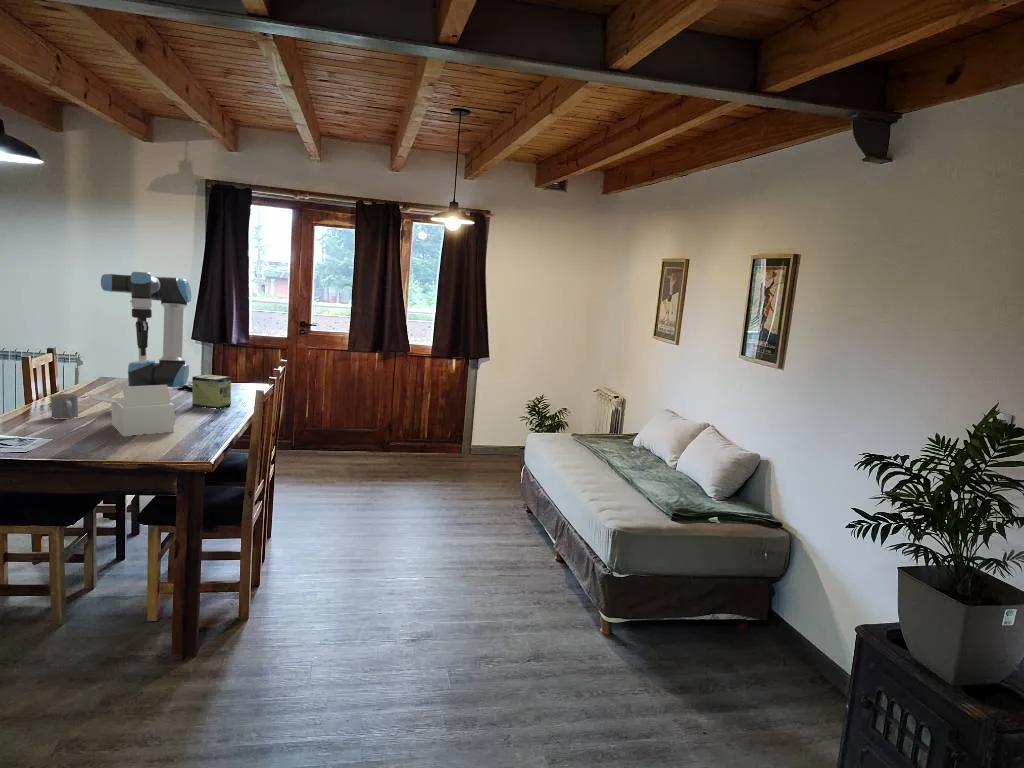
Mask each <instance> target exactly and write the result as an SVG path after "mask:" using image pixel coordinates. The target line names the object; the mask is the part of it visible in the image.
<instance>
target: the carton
mask: <svg viewBox="0 0 1024 768" xmlns="http://www.w3.org/2000/svg"><path fill="white" fill-rule="evenodd" d="M112 398H113V399H114V400H115V401H117V402H118V403H111V426H112V425H113V426H114V427H115V428H116V429H117V430H118V431H119V432H120V433H121V434H122V435H123V436H124V437H132V435H136V436H144V435H143V434H147V435H156V434H155V433H159V434H165V433H164V432H170V433H174V432H175V423H176V419H175V417H176V416H175V411H176V409H175V404H174V403H173V402H171V403H162V404H145V405H129V406H126V405H125V400H124V397H112ZM113 426H112V427H113ZM114 427H113V428H114ZM115 428H114V429H115ZM116 429H115V430H116ZM117 430H116V431H117ZM118 431H117V432H118ZM119 432H118V433H119ZM120 433H119V434H120ZM121 434H120V435H121ZM122 435H121V436H122ZM123 436H122V437H123Z"/></svg>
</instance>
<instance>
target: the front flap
mask: <svg viewBox="0 0 1024 768" xmlns="http://www.w3.org/2000/svg"><path fill="white" fill-rule="evenodd" d="M121 388H122V393H123V394H122V395H123V398H124V400H125V405H126V406H129V405H145V404H162V403H172V401H171V397H170V392H169V387H167V385H148V386H128V385H127V386H122V387H121Z"/></svg>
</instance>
